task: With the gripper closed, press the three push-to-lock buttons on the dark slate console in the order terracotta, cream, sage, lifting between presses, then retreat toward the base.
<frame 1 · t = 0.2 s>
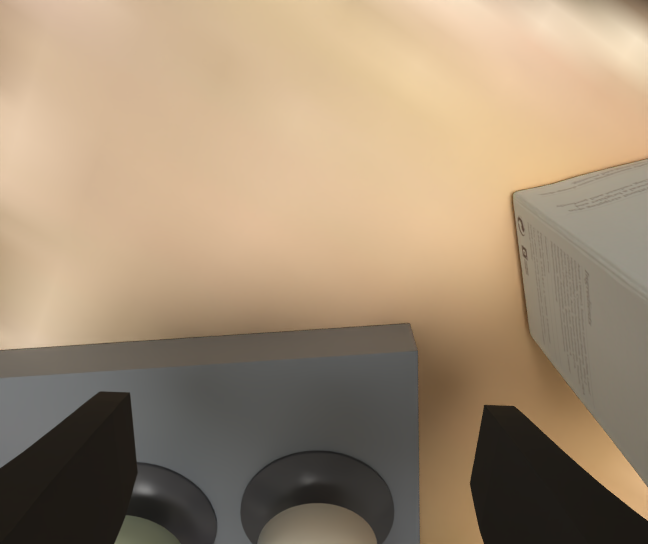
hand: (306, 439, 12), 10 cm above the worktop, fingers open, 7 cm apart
console: (153, 485, 25), on the worktop
skincare box: (632, 231, 21), on the worktop
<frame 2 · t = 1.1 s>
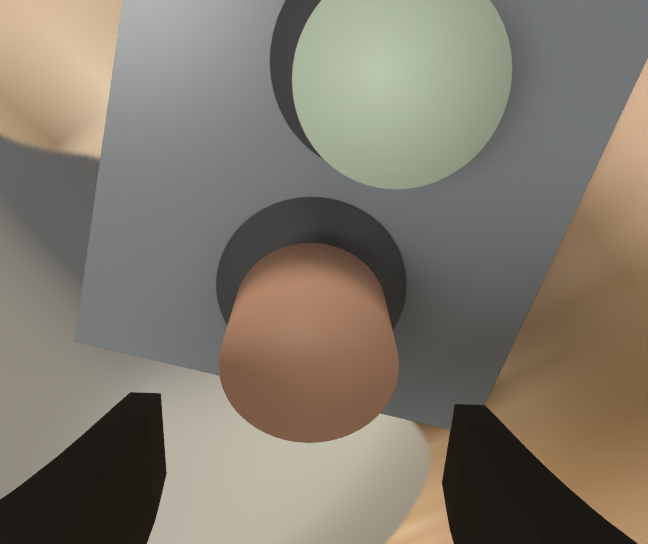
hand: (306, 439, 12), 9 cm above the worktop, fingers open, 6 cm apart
console: (373, 59, 18), on the worktop
button terracotta: (309, 339, 16), point 5 cm above the worktop, slide at 0.0 cm
button sage: (393, 75, 13), point 5 cm above the worktop, slide at 0.0 cm
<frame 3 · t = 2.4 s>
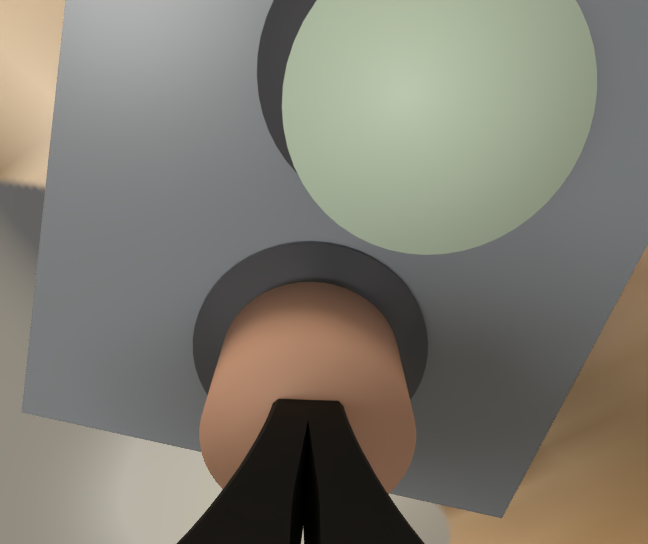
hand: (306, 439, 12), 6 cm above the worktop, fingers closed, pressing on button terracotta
console: (388, 69, 15), on the worktop
button terracotta: (309, 397, 14), point 4 cm above the worktop, slide at 1.2 cm, touching gripper
button sage: (421, 96, 10), point 5 cm above the worktop, slide at 0.0 cm
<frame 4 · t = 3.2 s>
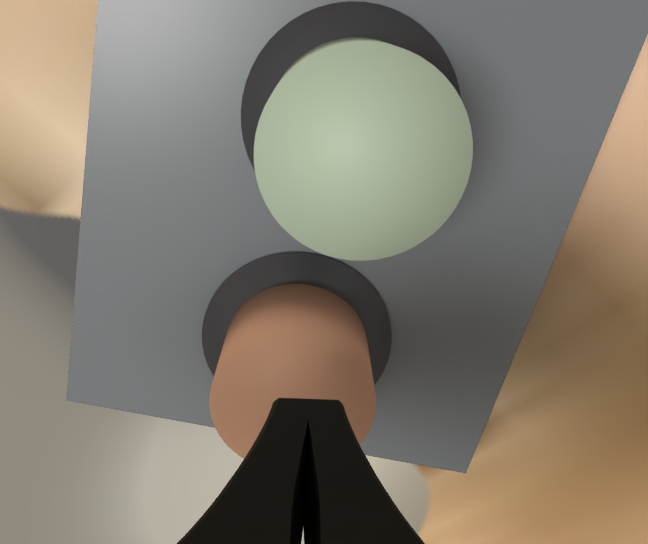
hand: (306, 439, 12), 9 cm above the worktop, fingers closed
console: (347, 110, 18), on the worktop
button terracotta: (294, 375, 17), point 4 cm above the worktop, slide at 1.2 cm
button sage: (358, 144, 13), point 5 cm above the worktop, slide at 0.0 cm
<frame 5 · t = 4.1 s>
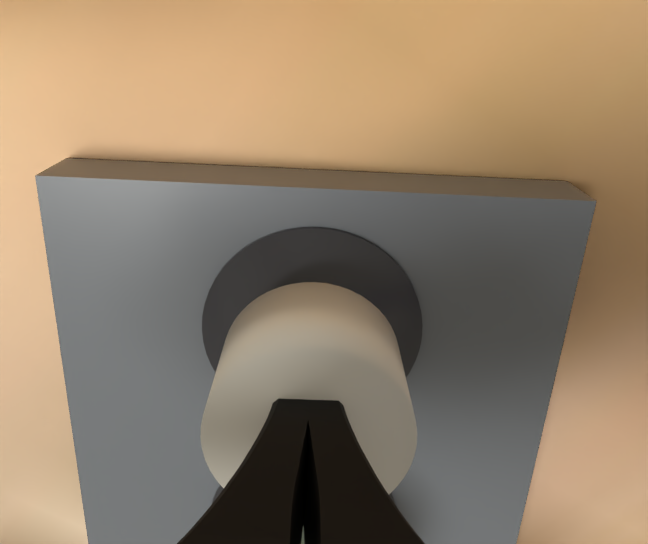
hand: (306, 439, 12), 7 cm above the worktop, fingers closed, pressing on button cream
console: (305, 477, 21), on the worktop
button cream: (310, 397, 14), point 5 cm above the worktop, slide at 0.1 cm, touching gripper
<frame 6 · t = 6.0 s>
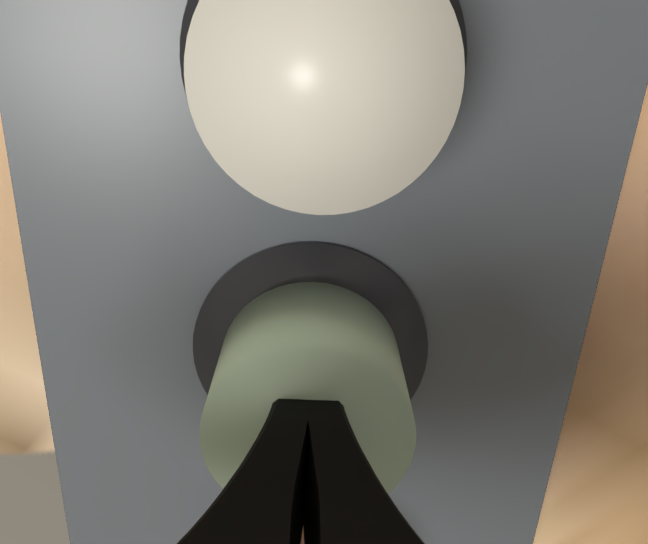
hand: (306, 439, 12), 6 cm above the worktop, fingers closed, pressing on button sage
console: (311, 314, 17), on the worktop
button sage: (309, 397, 14), point 4 cm above the worktop, slide at 1.2 cm, touching gripper
button cream: (323, 72, 11), point 4 cm above the worktop, slide at 1.2 cm
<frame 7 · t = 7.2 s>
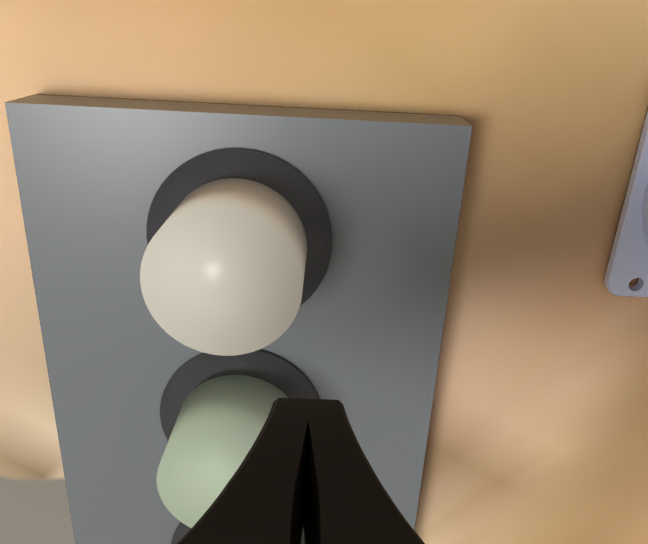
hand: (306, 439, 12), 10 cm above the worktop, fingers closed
console: (248, 385, 24), on the worktop
button sage: (233, 454, 20), point 4 cm above the worktop, slide at 1.2 cm
button cream: (230, 264, 18), point 4 cm above the worktop, slide at 1.2 cm
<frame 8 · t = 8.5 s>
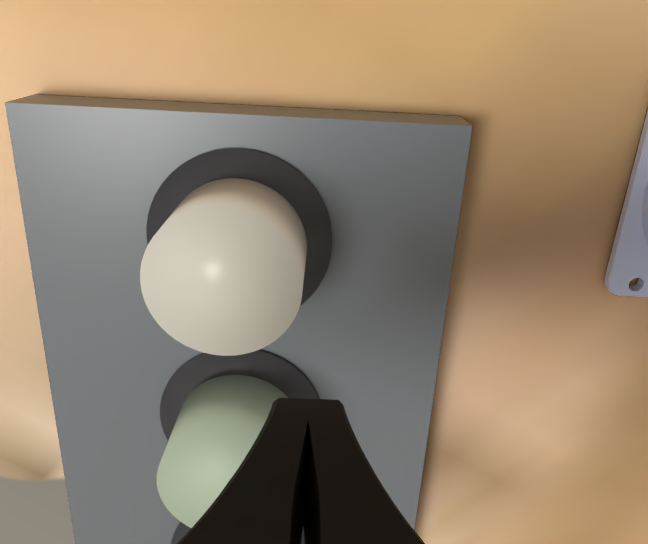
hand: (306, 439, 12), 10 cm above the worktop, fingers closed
console: (248, 385, 24), on the worktop
button sage: (233, 454, 20), point 4 cm above the worktop, slide at 1.2 cm
button cream: (230, 264, 18), point 4 cm above the worktop, slide at 1.2 cm
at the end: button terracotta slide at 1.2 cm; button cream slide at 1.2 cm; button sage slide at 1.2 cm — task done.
